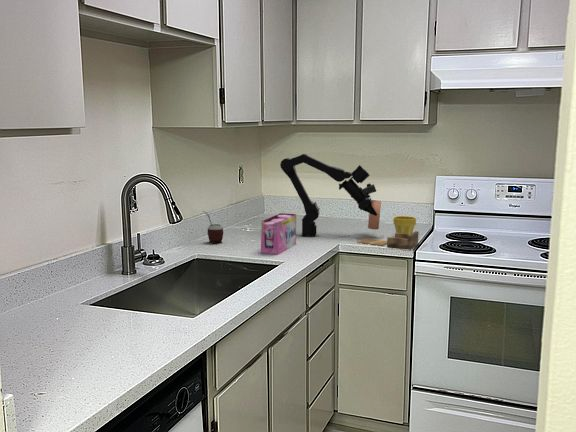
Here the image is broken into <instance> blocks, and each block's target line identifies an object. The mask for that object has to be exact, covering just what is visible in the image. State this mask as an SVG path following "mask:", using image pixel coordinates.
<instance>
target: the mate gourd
mask: <svg viewBox="0 0 576 432" xmlns="http://www.w3.org/2000/svg"><path fill="white" fill-rule="evenodd" d="M202 212H203V213H205V214H206V217H207V218H208V221H209V223H210V225H208V227H207V237H208V240H209V241H208V244H209V243H210V244H212V245H215V244H223V239H224V238H223V236H224V227H223V226H222V225H221V224H217V223H215V224H214V223H212V220H211V216H210V215H209V213H208V212H206V211H205V210H203V211H202Z"/></svg>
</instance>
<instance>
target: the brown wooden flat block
mask: <svg viewBox="0 0 576 432" xmlns="http://www.w3.org/2000/svg"><path fill="white" fill-rule="evenodd" d="M356 242H357V244H360V243H362V244H361V245H368V244H370V246H376V245H377V247H384V246H387V239H386V240H385V239H378V238H377V239H376V238H371V237H365V238H363V239H360V240H358V241H356Z"/></svg>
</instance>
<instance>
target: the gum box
mask: <svg viewBox="0 0 576 432" xmlns="http://www.w3.org/2000/svg"><path fill="white" fill-rule="evenodd" d="M296 244H297V214H296V213H286V212H280V213H277V214H275V215H273V216H271V217H270V216H269V217H267V218H265V219H263V220H261V237H260V253H261V254H266V255H267V254H268V255H269V254H271V255H279V254H281V253H283V252H285V251H286V250H288V249H290V248H292V247H293V246H296Z"/></svg>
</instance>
